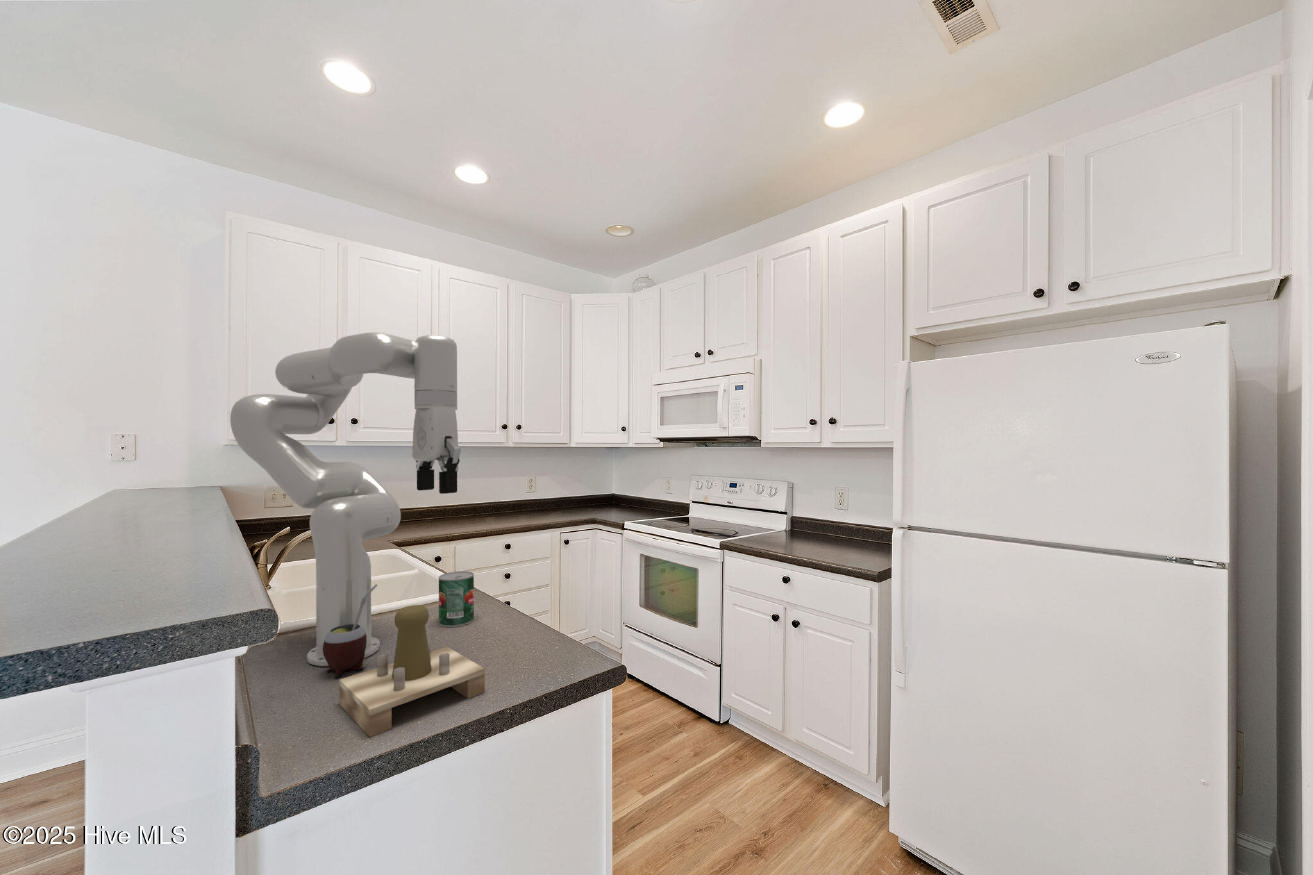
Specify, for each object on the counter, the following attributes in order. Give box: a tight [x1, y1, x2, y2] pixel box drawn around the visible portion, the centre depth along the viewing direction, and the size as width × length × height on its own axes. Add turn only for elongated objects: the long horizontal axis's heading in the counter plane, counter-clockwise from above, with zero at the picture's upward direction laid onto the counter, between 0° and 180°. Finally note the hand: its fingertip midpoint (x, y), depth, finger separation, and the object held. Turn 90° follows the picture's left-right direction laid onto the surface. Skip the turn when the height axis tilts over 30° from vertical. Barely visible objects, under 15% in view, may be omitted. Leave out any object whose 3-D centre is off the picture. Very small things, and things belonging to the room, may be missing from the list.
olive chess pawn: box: [392, 604, 432, 681], centre depth 86 cm, size 6×6×11 cm
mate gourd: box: [323, 584, 378, 680], centre depth 97 cm, size 8×8×15 cm
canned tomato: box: [438, 570, 475, 628], centre depth 122 cm, size 8×8×11 cm
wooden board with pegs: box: [338, 641, 486, 738], centre depth 86 cm, size 14×18×7 cm
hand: (436, 491), depth 98 cm, fingers open, 9 cm apart
